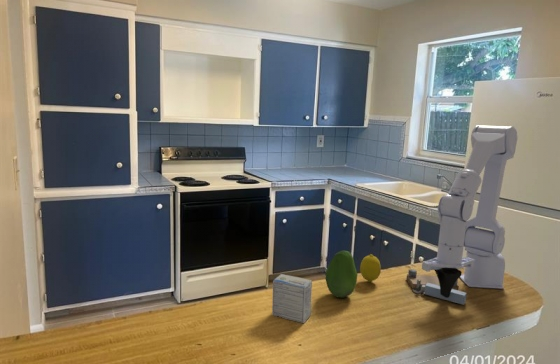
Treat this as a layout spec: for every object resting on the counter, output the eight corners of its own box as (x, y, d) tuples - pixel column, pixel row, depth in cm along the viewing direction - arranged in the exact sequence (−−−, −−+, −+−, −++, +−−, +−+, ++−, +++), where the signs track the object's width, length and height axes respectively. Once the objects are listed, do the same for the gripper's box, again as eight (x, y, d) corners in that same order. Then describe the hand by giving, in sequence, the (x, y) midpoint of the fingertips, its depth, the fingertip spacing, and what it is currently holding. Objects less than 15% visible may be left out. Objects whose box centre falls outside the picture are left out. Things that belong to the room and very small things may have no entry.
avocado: (360, 294, 104) (363, 249, 102) (348, 305, 97) (351, 258, 95) (332, 286, 108) (334, 243, 106) (318, 297, 101) (321, 251, 99)
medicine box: (311, 315, 92) (312, 279, 90) (303, 324, 88) (305, 287, 86) (279, 308, 95) (280, 273, 94) (271, 316, 91) (272, 279, 90)
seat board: (449, 281, 114) (450, 271, 113) (458, 291, 107) (459, 280, 107) (406, 279, 115) (407, 269, 114) (412, 289, 108) (413, 278, 108)
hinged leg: (420, 292, 105) (421, 284, 105) (422, 290, 107) (423, 281, 106) (463, 304, 99) (464, 295, 99) (465, 301, 101) (466, 292, 100)
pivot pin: (421, 289, 108) (422, 278, 107) (424, 294, 105) (425, 282, 105) (411, 289, 108) (412, 277, 107) (413, 293, 105) (415, 282, 105)
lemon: (378, 278, 114) (380, 251, 113) (380, 286, 109) (383, 258, 108) (358, 277, 115) (360, 250, 113) (360, 285, 109) (362, 257, 108)
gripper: (438, 250, 92) (432, 306, 94) (486, 246, 97) (480, 299, 99) (418, 241, 99) (413, 293, 101) (464, 238, 104) (458, 288, 106)
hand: (444, 295), depth 100 cm, fingers closed, pressing on hinged leg
